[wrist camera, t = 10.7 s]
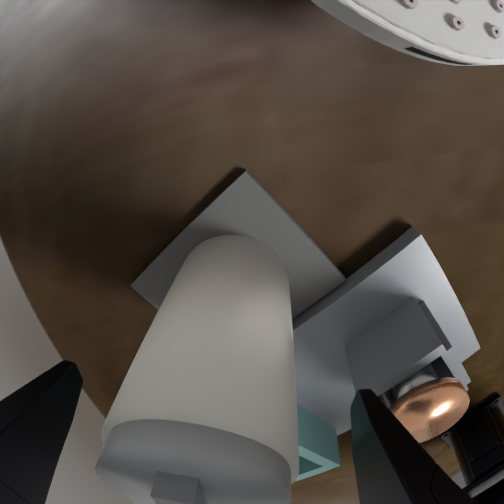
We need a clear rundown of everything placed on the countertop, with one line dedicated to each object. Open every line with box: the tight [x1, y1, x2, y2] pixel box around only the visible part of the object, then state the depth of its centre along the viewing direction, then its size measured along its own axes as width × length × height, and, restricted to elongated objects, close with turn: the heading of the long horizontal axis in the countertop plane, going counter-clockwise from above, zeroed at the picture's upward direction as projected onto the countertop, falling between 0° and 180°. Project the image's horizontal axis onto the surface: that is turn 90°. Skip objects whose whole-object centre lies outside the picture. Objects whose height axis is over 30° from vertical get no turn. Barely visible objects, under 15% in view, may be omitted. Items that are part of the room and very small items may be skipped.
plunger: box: [389, 363, 470, 443], centre depth 13 cm, size 4×4×5 cm
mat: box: [131, 170, 346, 319], centre depth 15 cm, size 7×8×1 cm
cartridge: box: [95, 234, 299, 504], centre depth 10 cm, size 5×5×11 cm
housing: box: [292, 226, 480, 482], centre depth 16 cm, size 10×20×4 cm, turn 134°
